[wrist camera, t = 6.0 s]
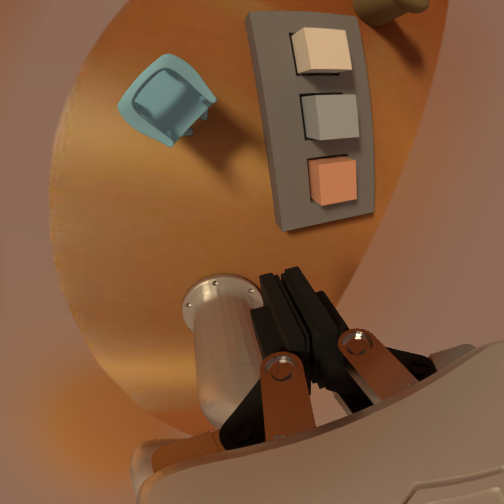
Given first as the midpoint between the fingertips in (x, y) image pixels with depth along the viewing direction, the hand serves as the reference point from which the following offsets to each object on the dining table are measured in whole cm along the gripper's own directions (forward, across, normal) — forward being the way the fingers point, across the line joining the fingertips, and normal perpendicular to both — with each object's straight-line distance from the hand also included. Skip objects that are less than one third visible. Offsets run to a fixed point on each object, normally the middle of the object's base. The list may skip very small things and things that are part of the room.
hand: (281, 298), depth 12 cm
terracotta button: (+24, -13, +2) cm, 27 cm away
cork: (+25, -25, -23) cm, 42 cm away
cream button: (+22, -13, -14) cm, 29 cm away
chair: (+25, +4, -10) cm, 28 cm away
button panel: (+25, -13, -6) cm, 29 cm away
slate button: (+23, -13, -6) cm, 27 cm away
